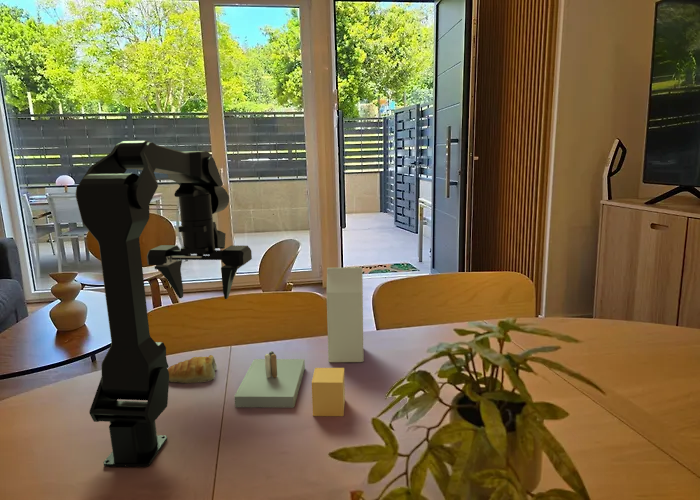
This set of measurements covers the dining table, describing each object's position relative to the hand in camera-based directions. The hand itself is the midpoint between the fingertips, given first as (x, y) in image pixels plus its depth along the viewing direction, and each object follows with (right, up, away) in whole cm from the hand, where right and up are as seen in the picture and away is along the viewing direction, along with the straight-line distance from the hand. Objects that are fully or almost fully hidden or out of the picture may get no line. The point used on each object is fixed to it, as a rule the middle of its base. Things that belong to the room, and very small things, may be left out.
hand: (203, 298), depth 90 cm
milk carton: (+28, -13, +7) cm, 31 cm away
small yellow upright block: (+25, -17, -13) cm, 33 cm away
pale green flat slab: (+14, -16, -6) cm, 22 cm away
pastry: (-1, -15, -1) cm, 15 cm away
